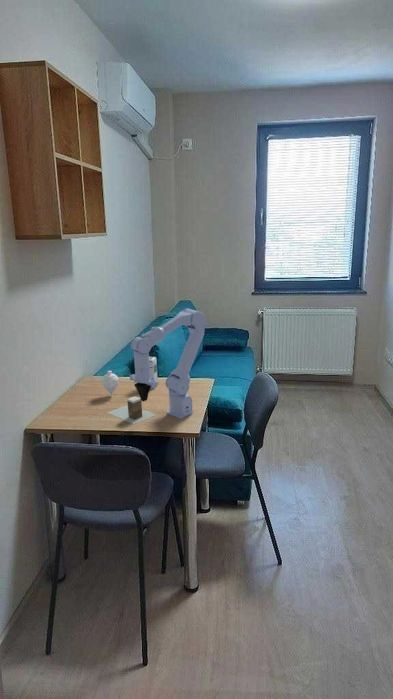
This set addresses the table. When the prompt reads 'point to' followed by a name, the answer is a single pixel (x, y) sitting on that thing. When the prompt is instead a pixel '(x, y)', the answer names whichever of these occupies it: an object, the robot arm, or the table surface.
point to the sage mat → (123, 414)
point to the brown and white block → (134, 407)
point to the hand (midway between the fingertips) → (144, 400)
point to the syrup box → (153, 369)
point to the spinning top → (110, 382)
